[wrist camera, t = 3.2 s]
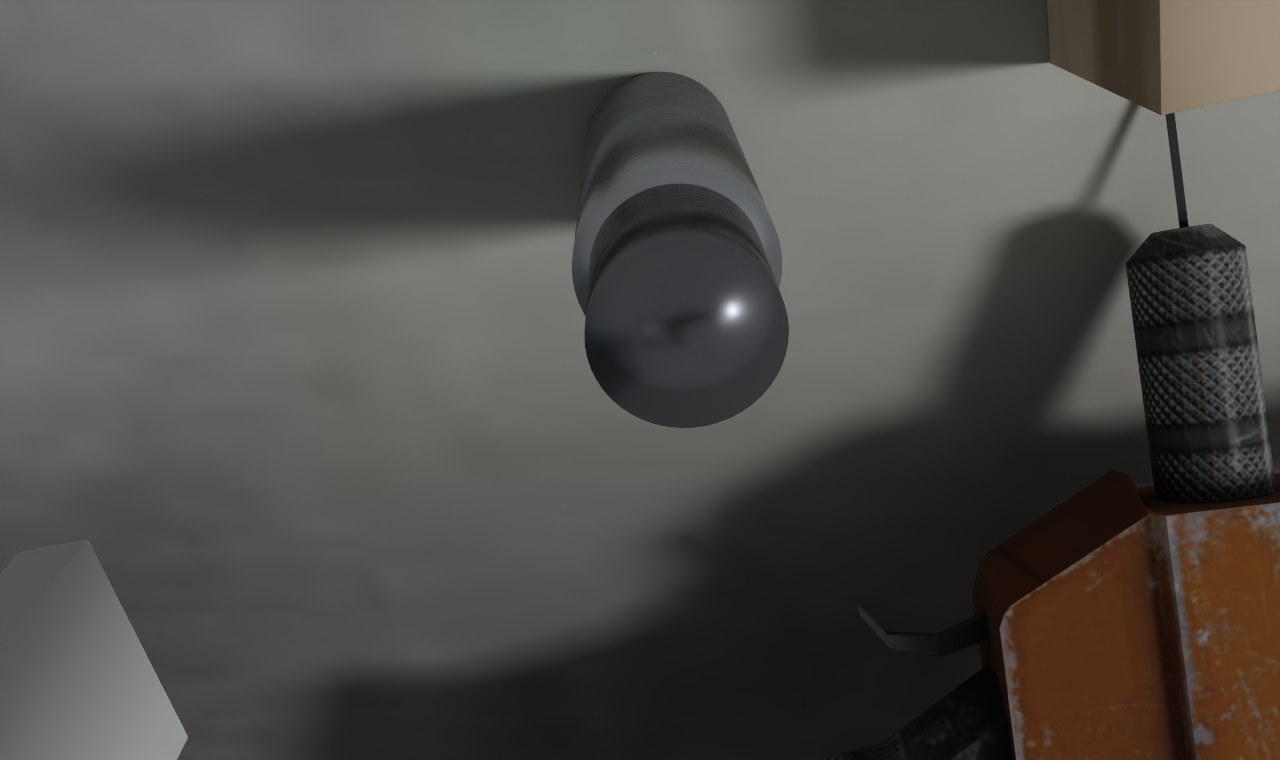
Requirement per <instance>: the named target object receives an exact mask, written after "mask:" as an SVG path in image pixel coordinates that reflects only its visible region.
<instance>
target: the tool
mask: <svg viewBox="0 0 1280 760" xmlns="http://www.w3.org/2000/svg"><path fill="white" fill-rule="evenodd" d="M1166 122H1167V130H1168V138H1169V146H1170V154H1171V162H1172V170H1173V178H1174V186H1175V194H1176V202H1177V210H1178V218H1179V226H1180V228H1177V229H1171V230H1166V231H1160V232H1155V233H1152V234H1150V235H1149V237H1148V238H1147V239H1146V240H1145V241H1144V242H1143V244H1142V245H1141V246H1140V247H1139V248H1138V249H1137V251H1136V252H1135V253H1134V254H1133V255H1132V256H1131V258H1130V259H1129V260H1128V261H1127V262H1126V270H1127V278H1128V286H1129V294H1130V301H1131V309H1132V317H1133V325H1134V333H1135V340H1136V348H1137V356H1138V364H1139V372H1140V380H1141V387H1142V395H1143V403H1144V411H1145V419H1146V427H1147V434H1148V442H1149V450H1150V458H1151V466H1152V474H1153V481H1154V486H1147V487H1138V488H1135V487H1134V485H1133V483H1132V481H1131V480H1130V478H1129V476H1128V475H1126V474H1123V473H1121V472H1118V471H1115V470H1111V471H1110V472H1108V473H1107V474H1105V475H1104V476H1102V477H1101V478H1099V479H1098V480H1096V481H1095V482H1093V483H1092V484H1090V485H1089V486H1087V487H1086V488H1084V489H1083V490H1081V491H1080V492H1078V493H1077V494H1075V495H1074V496H1072V497H1071V498H1069V499H1068V500H1066V501H1065V502H1063V503H1062V504H1060V505H1059V506H1057V507H1056V508H1054V509H1053V510H1051V511H1050V512H1048V513H1047V514H1045V515H1044V516H1042V517H1041V518H1039V519H1038V520H1036V521H1035V522H1033V523H1032V524H1031V525H1029V526H1028V527H1026V528H1025V529H1023V530H1022V531H1020V532H1019V533H1017V534H1016V535H1014V536H1013V537H1011V538H1010V539H1008V540H1007V541H1005V542H1004V543H1002V544H1001V545H999V546H998V547H996V548H995V549H993V550H992V551H990V552H989V553H987V554H986V555H985V557H984V558H983V560H982V561H981V563H980V566H979V569H978V572H977V576H976V581H975V586H974V591H973V602H974V610H975V616H974V617H972V618H970V619H968V620H965V621H963V622H961V623H959V624H956V625H954V626H952V627H950V628H948V629H945V630H943V631H941V632H939V633H936V634H934V633H911V632H887V631H885V630H884V629H883V628H882V627H881V626H880V625H879V624H878V623H877V622H876V621H875V620H874V619H873V618H872V617H871V616H870V615H869V614H868V613H867V612H866V611H865V610H864V609H863V608H862V607H861V606H860V605H859V604H858V603H857V608H858V613H859V615H860V616H861V617H862V618H863V620H864V621H865V622H866V623H867V624H868V625H869V626H870V627H871V628H872V630H873V631H874V632H875V633H876V634H877V635H878V636H879V637H880V638H881V640H882V641H883V642H884V643H885V644H886V645H887V646H888V647H889V648H890V649H896V650H902V651H908V652H914V653H920V654H926V655H932V656H938V657H942V656H945V655H947V654H950V653H952V652H955V651H958V650H960V649H963V648H966V647H968V646H971V645H973V644H976V643H979V648H980V656H981V664H982V669H981V670H980V671H978V672H977V673H976V674H974V675H973V676H972V677H970V678H969V679H968V680H966V681H965V682H964V683H962V684H961V685H960V686H958V687H957V688H956V689H954V690H953V691H952V692H950V693H949V694H948V695H946V696H945V697H944V698H942V699H941V700H940V701H938V702H937V703H936V704H934V705H933V706H932V707H930V708H929V709H928V710H926V711H925V712H923V713H922V714H921V715H919V716H918V717H917V718H915V719H914V720H913V721H911V722H910V723H909V724H907V725H906V726H905V727H903V728H902V729H901V730H899V731H898V732H897V733H895V734H894V735H893V736H891V737H890V738H889V739H887V740H886V741H885V742H883V743H881V744H877V745H874V746H870V747H866V748H863V749H859V750H855V751H852V752H848V753H844V754H841V755H837V756H834V757H830V758H826V759H823V760H1280V473H1278V474H1274V470H1273V462H1272V454H1271V446H1270V438H1269V430H1268V422H1267V414H1266V406H1265V398H1264V390H1263V382H1262V374H1261V366H1260V358H1259V350H1258V342H1257V334H1256V326H1255V318H1254V310H1253V302H1252V294H1251V286H1250V278H1249V270H1248V262H1247V254H1246V246H1245V245H1243V244H1242V243H1240V242H1239V241H1237V240H1236V239H1234V238H1232V237H1231V236H1229V235H1228V234H1226V233H1225V232H1223V231H1222V230H1220V229H1218V228H1217V227H1215V226H1214V225H1212V224H1206V225H1198V226H1190V227H1188V219H1187V211H1186V203H1185V195H1184V187H1183V179H1182V171H1181V163H1180V155H1179V147H1178V139H1177V131H1176V123H1175V115H1174V113H1170V114H1166Z"/></svg>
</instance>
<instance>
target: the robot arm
mask: <svg viewBox="0 0 1280 760" xmlns="http://www.w3.org/2000/svg"><path fill="white" fill-rule="evenodd" d="M187 738H188V736H187V734H186V732H185V730H184V728H183V726H182V724H181V722H180V720H179V718H178V716H177V714H176V713H175V711H174V709H173V707H172V705H171V703H170V701H169V699H168V697H167V695H166V693H165V691H164V689H163V687H162V685H161V683H160V681H159V679H158V677H157V675H156V673H155V671H154V669H153V667H152V665H151V663H150V661H149V659H148V657H147V655H146V653H145V651H144V649H143V647H142V645H141V643H140V641H139V639H138V637H137V635H136V633H135V631H134V630H133V628H132V626H131V624H130V622H129V620H128V618H127V616H126V614H125V612H124V610H123V608H122V606H121V604H120V602H119V600H118V598H117V596H116V594H115V592H114V590H113V588H112V586H111V584H110V582H109V580H108V578H107V576H106V574H105V572H104V570H103V568H102V566H101V564H100V562H99V560H98V558H97V556H96V554H95V552H94V550H93V548H92V547H91V545H90V543H89V541H88V539H85V540H80V541H75V542H70V543H65V544H60V545H54V546H49V547H44V548H39V549H34V550H29V551H24V552H19V553H18V554H17V555H16V556H15V558H14V559H13V560H12V561H11V562H10V563H9V565H8V566H7V567H6V568H5V569H4V570H3V571H2V573H1V574H0V760H177V758H178V756H179V754H180V752H181V750H182V748H183V746H184V744H185V742H186V740H187Z"/></svg>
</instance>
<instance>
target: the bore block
mask: <svg viewBox="0 0 1280 760" xmlns="http://www.w3.org/2000/svg"><path fill="white" fill-rule="evenodd" d="M1047 13H1048V31H1049V49H1050V63H1051V64H1053V65H1056V66H1058V67H1060V68H1062V69H1064V70H1066V71H1068V72H1070V73H1073V74H1075V75H1077V76H1079V77H1081V78H1083V79H1085V80H1087V81H1090V82H1092V83H1094V84H1096V85H1098V86H1100V87H1102V88H1104V89H1107V90H1109V91H1111V92H1113V93H1115V94H1117V95H1119V96H1121V97H1124V98H1126V99H1128V100H1130V101H1132V102H1134V103H1136V104H1138V105H1141V106H1143V107H1145V108H1147V109H1149V110H1151V111H1153V112H1155V113H1158V114H1160V115H1165V114H1170V113H1175V112H1179V111H1184V110H1189V109H1194V108H1198V107H1203V106H1208V105H1213V104H1217V103H1222V102H1227V101H1232V100H1236V99H1241V98H1246V97H1251V96H1255V95H1260V94H1265V93H1270V92H1274V91H1279V90H1280V0H1047Z"/></svg>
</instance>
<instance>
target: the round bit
mask: <svg viewBox="0 0 1280 760" xmlns="http://www.w3.org/2000/svg"><path fill="white" fill-rule="evenodd" d="M781 274H782V255H781V246H780V242H779V238H778V234H777V232H776V229H775V227H774V224H773V222H772V219H771V217H770V215H769V212H768V210H767V208H766V205H765V203H764V201H763V198H762V196H761V194H760V191H759V189H758V186H757V184H756V182H755V179H754V177H753V175H752V172H751V170H750V168H749V165H748V163H747V161H746V158H745V156H744V154H743V151H742V149H741V146H740V144H739V142H738V139H737V137H736V135H735V132H734V130H733V128H732V125H731V123H730V121H729V118H728V116H727V114H726V112H725V110H724V108H723V106H722V105H721V103H720V102H719V101H718V99H717V98H716V97H715V96H714V95H713V94H712V93H711V92H710V91H709V90H708V89H707V88H706V87H704V86H703V85H702V84H700V83H699V82H697V81H695V80H693V79H691V78H689V77H686V76H684V75H680V74H676V73H670V72H651V73H645V74H641V75H638V76H635V77H632V78H630V79H628V80H626V81H624V82H622V83H621V84H619V85H617V86H616V87H615V88H614V89H613V90H611V91H610V92H609V93H608V94H607V95H606V96H605V97H604V98H603V100H602V101H601V102H600V104H599V105H598V107H597V108H596V110H595V112H594V114H593V116H592V119H591V121H590V124H589V128H588V132H587V139H586V148H585V156H584V165H583V173H582V181H581V190H580V198H579V207H578V215H577V224H576V232H575V241H574V249H573V259H572V278H573V283H574V289H575V293H576V296H577V299H578V302H579V304H580V306H581V308H582V310H583V312H584V314H585V316H586V320H585V348H586V353H587V358H588V361H589V364H590V367H591V370H592V372H593V374H594V376H595V378H596V380H597V381H598V383H599V384H600V386H601V387H602V389H603V390H604V391H605V392H606V394H607V395H608V396H609V397H610V398H611V399H612V400H613V401H614V402H615V403H617V404H618V405H619V406H620V407H621V408H623V409H624V410H626V411H627V412H629V413H630V414H632V415H634V416H636V417H638V418H640V419H642V420H645V421H648V422H651V423H654V424H658V425H662V426H667V427H677V428H693V427H700V426H707V425H710V424H714V423H718V422H721V421H723V420H726V419H728V418H731V417H733V416H735V415H736V414H738V413H740V412H742V411H743V410H745V409H746V408H748V407H749V406H751V405H752V404H753V403H754V402H755V401H756V400H758V399H759V398H760V397H761V396H762V395H763V394H764V392H765V391H766V390H767V389H768V388H769V387H770V385H771V384H772V382H773V381H774V379H775V378H776V376H777V374H778V372H779V370H780V368H781V366H782V364H783V361H784V358H785V355H786V350H787V345H788V335H789V326H788V316H787V312H786V308H785V304H784V302H783V299H782V296H781V294H780V291H779V285H780V279H781Z"/></svg>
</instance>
